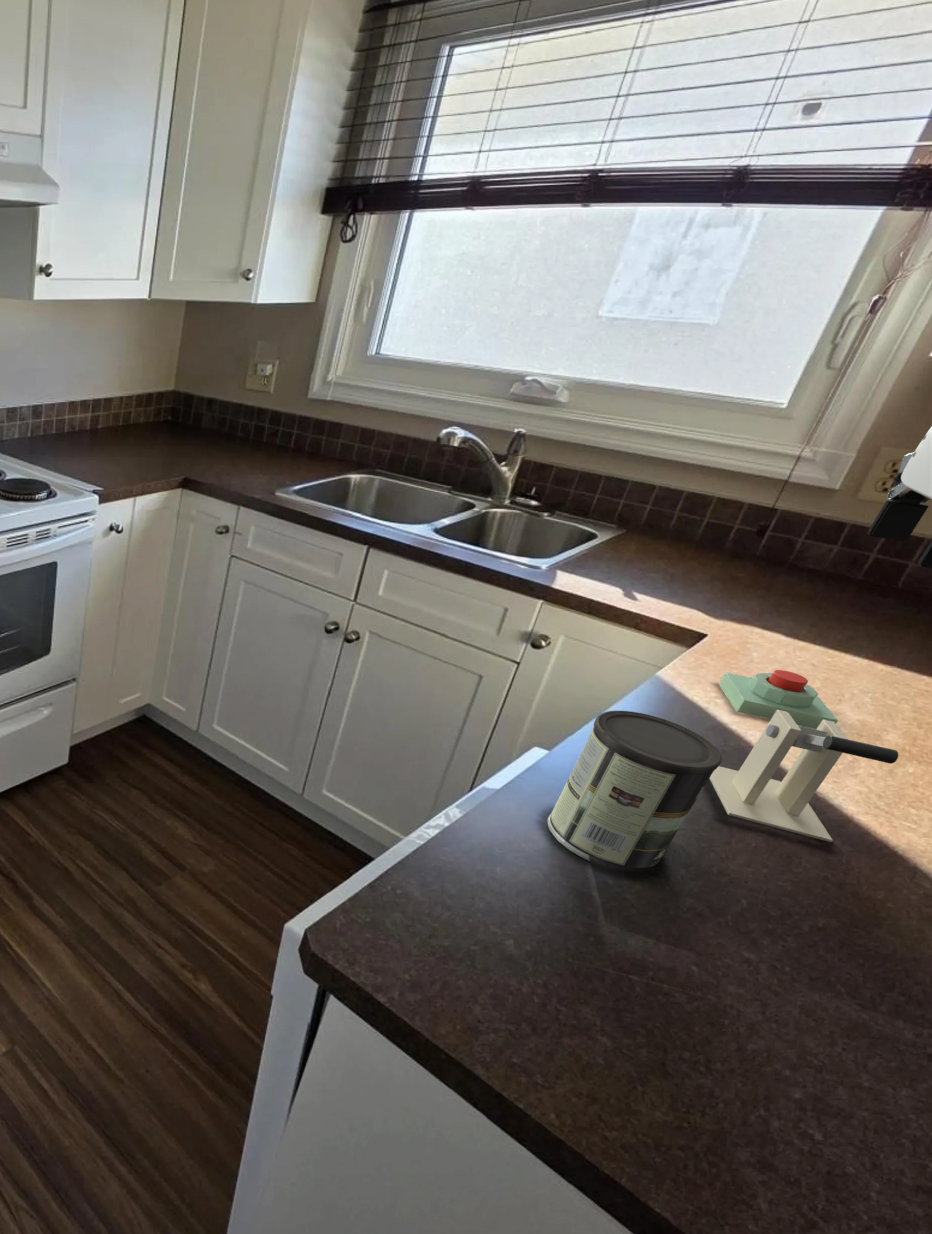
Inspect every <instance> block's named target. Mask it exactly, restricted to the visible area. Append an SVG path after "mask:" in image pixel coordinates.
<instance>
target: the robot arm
mask: <svg viewBox="0 0 932 1234" xmlns="http://www.w3.org/2000/svg"><path fill="white" fill-rule="evenodd" d="M930 500H932V426H930V428H929V429H928V431H927V432H926V433H925V434H924V437H922V439H921V441H920V442H919V444H918V446H917V447H916V448H915V450H914V452H910V453H907V454H905V455H904V456H903V457H902V459H901V463H900V466H899V470H898V473H897V474H896V475H895V477H893V487H892V488H891V489H890V490H889V491H888V492H887V494H886V501H885V502H884V504H883V505H882V507H881V509H880V510H879V512H878V514H877V515H876V517H875V519H874V521H873V522H872V524H871V525H870V527H869V529H868V530H867V532H866V533H867V535H869V536H870V537H872V538H879V539H887V540H895V541H907V540H908V539H909V538H910V537H911V535H912V534H913V532H914V530H915V529H916V527H917V526H918V524H919V522H920V521H921V519H922V518H923V516H924V514H925V513H926V512H927V510H928V508H929V506H930V505H928V504H925V503H927V502H928V501H930ZM917 565H918V566H920V567H921V568H925V569H926V568H927V569H932V540H931V542H930V543H929V544H928V545H927V547H926V549H925V550H924V552H923V553H922V555H921V556H920V558H919V560H917Z"/></svg>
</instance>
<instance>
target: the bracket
mask: <svg viewBox="0 0 932 1234" xmlns="http://www.w3.org/2000/svg"><path fill="white" fill-rule="evenodd" d="M799 726H800V725H797V724H796V722H795V721H794V720H793V718H792V717H791V716H790V714H789V713H788V712H786V711H781V710H777V711H776V712H775V714H774V715H773V717H772V719H769V722H768V724H767V725H766V726H765V728H764V730H763V731H762V733H761V735H760V736H759V738H758V739H757V741H756V742H755V744H754V745H753V747H752V749H751V751H750V752H749V754H748V755H747V757H746V759H745V760H744V761H743V763H742V765H741V767H740V768H739V769H738V770H735V769H732V768H728V767H723V766H720V765H719V766H718V768H717V769H715V770H714V771H713V773H712V775H711V776H710V778H709V780H710V783H711V784H712V786H713V788H714V790H715V792H716V794H717V797H718V798H719V800H720V802H721V804H722V805H723V808H724V810H725V812H726V814H727V815H728V816H731V817H735V818H738V819H741V820H746V821H749V822H753V823H757V824H759V825H760V824H761V825H764V826H768V827H771V828H776V829H779V830H783V831H787V832H791V833H795V834H798V835H802V836H806V837H809V838H813V839H818V840H820V841H824V842H828V843H832V842H833V840H834V839H833V837H831V835H830V834H829V832H828V831H827V829H826V827H825V825H824V824H823V823H822V821H821V819H820V818H819V816H818V815H817V814H816V812H815V811H814V809H813V808H812V806H811V805H810V803H809V802H810V801H811V800H812V798H813V796H814V795H815V794H816V792H817V790H818V789H819V788H820V786H821V785H822V783H823V782H824V780H825V779H826V778H827V776H828V775H829V773H830V772H831V771H832V769H833V767H834V766H835V765H836V763H837V762H838V760H839V759H840V757H841V756H842V755H843V753H841V752H837V751H833V750H828V749H825V748H824V747H822V749H821V752H815V751H811V750H806V749H802V750H801V751H800V753H799V754H798V756H797V758H796V759H795V761H793V763H792V765H791V767H790V768H789V770H787V773H786V774H785V775H784V777H783V779H782V781H781V780H778V779H777V780H776V779H772V777H773V776H774V775H775V773H776V772H777V769H778V768H779V766H780V765H781V763H782V762H783V761H784V759H785V757H786V756H787V755H788V753H789V752H790V750H791V748H792V747H793V746H792V745H793V744H794V742H795V740H796V739H797V737H798V736H799V734H800V733H801V731H802V730H801V729H800V728H799ZM816 730H820V731H825V732H827V734H826V737H827V736H835V737H839V738H844V739H848V740H850V739H849V738H848V737H847V736H846V734H845V733H844V732H843V731H842V730H841V728H840V727H839V725H838V724H837V723H836V724H835V722H832V721H827V720H822V722H821V723H820V725H819V726H818V728H817V729H816ZM826 737H825V738H826Z"/></svg>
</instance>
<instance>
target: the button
mask: <svg viewBox="0 0 932 1234" xmlns="http://www.w3.org/2000/svg"><path fill="white" fill-rule="evenodd" d="M771 673H772V675H771V677H770V678H769V680H768V683H770V684H772V685H773V686H775V687H778V688H781V689H784V690H787V691H792V692H802V691H803V689H804V687H805V686H806V684H807V685H808V683H809V680H808V679H807V677H805V676H803V675H801V674H798V673H796V672H793V671H789V670H784V669H783V670H782V669H775V670H773V672H771Z"/></svg>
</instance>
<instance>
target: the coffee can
mask: <svg viewBox="0 0 932 1234" xmlns="http://www.w3.org/2000/svg"><path fill="white" fill-rule="evenodd" d="M722 760H723V757H722V754H721V752H720V751H719V749H717V747H716V746H715V745H714V744H712V742H711V741H709V740H707V739H706V738H704V737H703V736H702V735H701V734H698V733H697V732H694V731H693V730H691V729H689V728H687V727H685V726H682V725H680V724H678V723H675V722H672V721H671V720H667V719H666V718H665V719H664V718H661V717H658V716H654V715H651V714H647V713H642V712H637V711H630V710H607V711H603V712H601V713H599V714H598V715H597V716H596V718H595V719H594V721H593V727H592V729H591V732H590V733H589V736H588V738H587V740H586V741H585V744H584V746H583V748H582V750H581V752H580V754H579V756H578V757H577V760H576V761H575V764H574V767H573V768H572V770H571V773H570V774H569V777H568V779H567V780H566V783H565V785H564V787H563V788H562V791H561V793H560V795H559V797H558V799H557V801H556V803H555V805H554V807H553V809H552V810H551V813H550V814H549V816H548V817H547V826H548V830H549V832H551V834H552V836H553V837H554V838H555V839H556V840H557V841H558V842H559V843H560V844H561V845H562V846H563V847H565V848H566V849H567V850H568V851H570V852H572V853H573V854H575V855H576V856H577V857H580V858H582V859H584V860H586V861H588V862H591V858H590V856H591V857H593V858H597V859H599V860H601V861H604V862H606V863H610V864H612V865H615V866H619V867H620V866H621V867H624V868H625V867H627V868H632V869H633V868H634V869H645V868H651V867H654V866H656V865H657V864H658V863H660V862H661V860H662V858H663V857H664V855H665V853H666V852H667V850H668V849H669V846H670V845H671V843H672V841H673V840H674V838H675V836H676V835H677V833H678V831H679V830H680V827H681V826H682V824H683V823H684V821H685V819H686V818H687V816H688V814H689V813H690V811H691V809H692V808H693V806H694V804H695V803H696V801H697V800H698V798H699V796H700V795H701V793H702V791H703V790H704V788H705V786H706V784H707V783H708V781H709V780H710V776H711V775H712V773H713V771H714V770H715V769H717V768H718V766H720V765H721V764H722V762H723V761H722Z"/></svg>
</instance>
